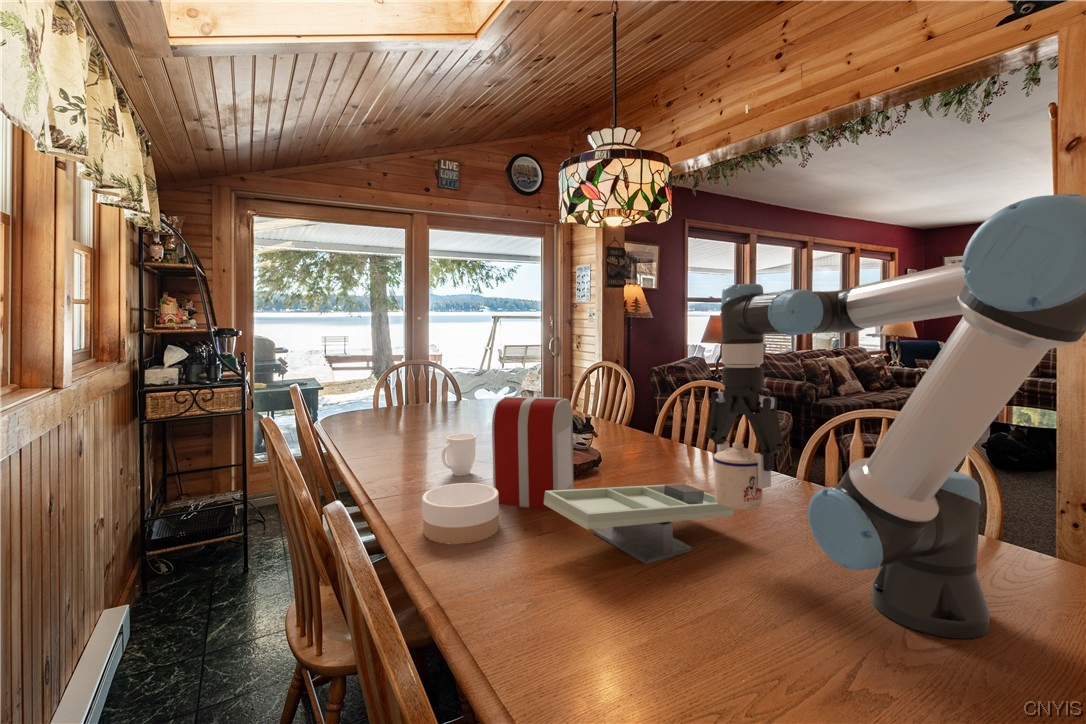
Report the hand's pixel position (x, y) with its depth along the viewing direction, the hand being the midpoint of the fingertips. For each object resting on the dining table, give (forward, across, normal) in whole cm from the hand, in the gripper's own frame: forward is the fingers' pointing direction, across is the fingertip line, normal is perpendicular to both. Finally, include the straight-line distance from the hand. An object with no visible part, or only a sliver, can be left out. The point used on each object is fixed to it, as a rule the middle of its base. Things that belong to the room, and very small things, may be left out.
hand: (743, 481), depth 105 cm
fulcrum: (+15, +17, +12) cm, 26 cm away
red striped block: (+14, +55, +17) cm, 59 cm away
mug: (+14, +86, +27) cm, 91 cm away
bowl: (+15, +44, +42) cm, 62 cm away
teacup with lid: (+4, 0, 0) cm, 4 cm away
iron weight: (+8, +17, 0) cm, 19 cm away
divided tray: (+8, +17, +12) cm, 22 cm away
